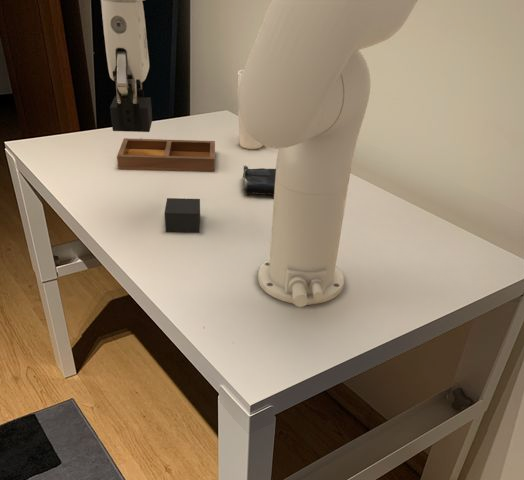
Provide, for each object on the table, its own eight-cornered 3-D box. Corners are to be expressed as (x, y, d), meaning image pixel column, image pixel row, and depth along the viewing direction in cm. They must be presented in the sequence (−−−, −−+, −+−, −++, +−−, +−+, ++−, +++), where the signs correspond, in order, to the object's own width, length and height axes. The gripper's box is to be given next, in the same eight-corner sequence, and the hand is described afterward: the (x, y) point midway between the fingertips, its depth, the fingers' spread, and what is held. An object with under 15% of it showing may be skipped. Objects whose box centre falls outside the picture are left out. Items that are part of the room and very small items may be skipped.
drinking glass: (272, 145, 124) (276, 72, 115) (255, 153, 120) (258, 78, 110) (247, 138, 127) (249, 66, 117) (229, 146, 122) (230, 72, 113)
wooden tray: (214, 171, 111) (214, 158, 110) (118, 169, 110) (116, 156, 108) (214, 153, 119) (214, 140, 117) (125, 150, 117) (123, 138, 116)
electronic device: (244, 207, 103) (325, 198, 102) (241, 176, 100) (324, 168, 99) (245, 192, 111) (320, 184, 110) (241, 164, 108) (318, 156, 107)
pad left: (149, 132, 84) (147, 108, 82) (112, 131, 84) (109, 107, 82) (152, 120, 89) (150, 97, 86) (117, 119, 88) (114, 96, 86)
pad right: (199, 233, 91) (198, 213, 89) (165, 232, 91) (164, 212, 89) (200, 217, 96) (199, 198, 93) (168, 217, 95) (167, 197, 93)
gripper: (142, -4, 68) (153, 143, 80) (153, -23, 81) (161, 107, 93) (79, -7, 68) (99, 142, 79) (100, -25, 81) (115, 105, 92)
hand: (132, 122), depth 86 cm, fingers closed on pad left, 5 cm apart
